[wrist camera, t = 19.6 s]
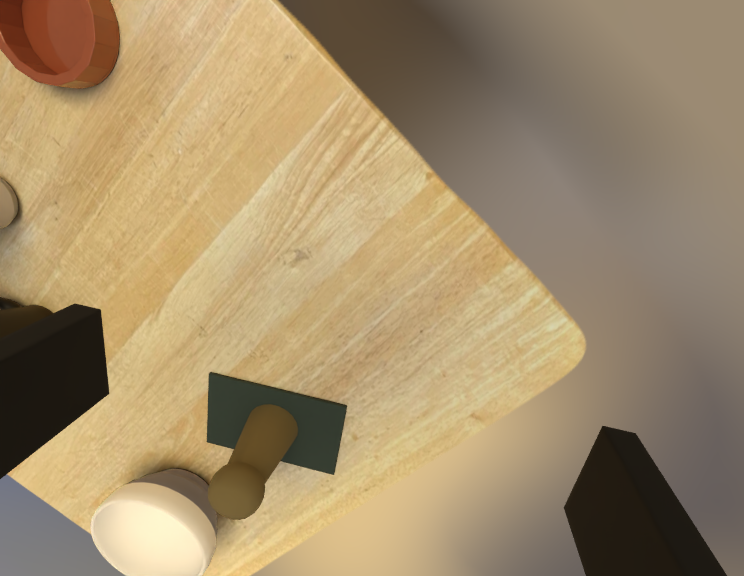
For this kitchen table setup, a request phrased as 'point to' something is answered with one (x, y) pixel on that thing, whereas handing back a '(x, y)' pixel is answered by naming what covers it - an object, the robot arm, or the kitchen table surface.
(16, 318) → the mug
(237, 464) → the cork
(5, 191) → the energy drink can
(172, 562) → the bowl
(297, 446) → the mat
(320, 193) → the kitchen table surface
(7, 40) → the holder
